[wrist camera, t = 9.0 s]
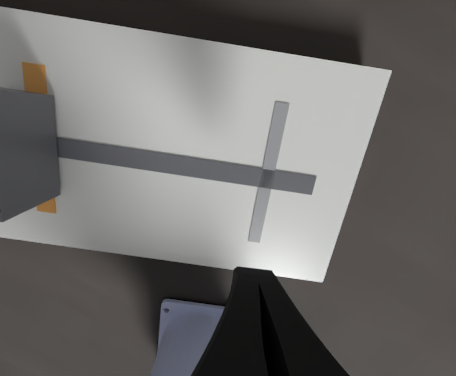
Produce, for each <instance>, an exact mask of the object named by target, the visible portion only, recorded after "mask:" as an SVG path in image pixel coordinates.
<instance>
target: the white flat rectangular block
mask: <svg viewBox="0 0 456 376" xmlns="http://www.w3.org/2000/svg"><path fill="white" fill-rule="evenodd" d="M391 72H392V71H391V70H385V69H379V68H373V67H367V66H361V65H355V64H348V63H342V62H336V61H330V60H324V59H318V58H312V57H306V56H300V55H294V54H287V53H281V52H275V51H269V50H263V49H257V48H251V47H245V46H239V45H233V44H227V43H220V42H214V41H208V40H202V39H196V38H190V37H184V36H178V35H172V34H166V33H160V32H153V31H147V30H141V29H135V28H129V27H123V26H117V25H111V24H105V23H99V22H92V21H86V20H80V19H74V18H68V17H62V16H56V15H50V14H44V13H38V12H32V11H25V10H19V9H13V8H7V7H1V6H0V87H3V88H10V89H16V90H22V91H29V92H35V93H42V94H48V95H54V109H55V123H56V137H57V152H58V166H59V180H60V194H61V195H59V196H57V197H55V198H53V199H51V200H49V201H46V202H44V203H42V204H40V205H38V206H36V207H34V208H32V209H30V210H28V211H25V212H23V213H21V214H19V215H17V216H15V217H13V218H11V219H9V220H7V221H4V222H0V237H3V238H10V239H17V240H24V241H31V242H39V243H46V244H53V245H60V246H67V247H74V248H81V249H88V250H96V251H103V252H110V253H117V254H124V255H131V256H138V257H145V258H152V259H160V260H167V261H174V262H181V263H188V264H195V265H202V266H209V267H217V268H224V269H231V270H234V268H236V267H238V266H239V267H248V268H256V269H264V270H272V272H273V273H274V274H275V276H281V277H288V278H295V279H302V280H309V281H316V282H323V280H324V277H325V274H326V271H327V268H328V265H329V261H330V258H331V255H332V252H333V249H334V246H335V243H336V240H337V237H338V234H339V231H340V228H341V225H342V222H343V219H344V216H345V213H346V209H347V206H348V203H349V200H350V197H351V194H352V191H353V188H354V185H355V182H356V179H357V176H358V173H359V170H360V167H361V164H362V161H363V157H364V154H365V151H366V148H367V145H368V142H369V139H370V136H371V133H372V130H373V127H374V124H375V121H376V118H377V115H378V112H379V108H380V105H381V102H382V99H383V96H384V93H385V90H386V87H387V84H388V81H389V78H390V75H391Z"/></svg>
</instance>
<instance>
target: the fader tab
mask: <svg viewBox="0 0 456 376" xmlns="http://www.w3.org/2000/svg"><path fill="white" fill-rule="evenodd" d="M59 195H61V194H60V180H59V166H58V152H57V137H56V123H55V109H54V95H48V94H42V93H35V92H29V91H22V90H16V89H10V88H3V87H0V222H4V221H7V220H9V219H11V218H13V217H15V216H17V215H19V214H21V213H23V212H25V211H28V210H30V209H32V208H34V207H36V206H38V205H40V204H42V203H44V202H46V201H49V200H51V199H53V198H55V197H57V196H59Z"/></svg>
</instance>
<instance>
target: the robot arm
mask: <svg viewBox="0 0 456 376" xmlns="http://www.w3.org/2000/svg"><path fill="white" fill-rule="evenodd" d="M165 308H167V309H168V310H167V309H165ZM150 376H349V375H348V373H347V372H346V371H345V370H344V369H343V368H342V367H341V365H340V364H339V363H338V362H337V361H336V359H335V358H334V357H333V356H332V355H331V353H330V352H329V351H328V350H327V348H326V347H325V346H324V344H323V343H322V342H321V341H320V339H319V338H318V337H317V336H316V334H315V333H314V332H313V330H312V329H311V328H310V326H309V325H308V323H307V322H306V321H305V319H304V318H303V316H302V315H301V314H300V312H299V311H298V309H297V308H296V307H295V305H294V304H293V302H292V301H291V299H290V298H289V296H288V295H287V293H286V292H285V290H284V288H283V287H282V285H281V284H280V282H279V281H278V279H277V278H276V276H275V274H274V273H273V272H272V270H264V269H256V268H248V267H239V266H238V267H236V268H234V273H233V279H232V286H231V291H230V294H229V297H228V300H227V302H226V305H225V307H224V306H217V305H210V304H202V303H195V302H188V301H180V300H173V299H164V300H163V301H162V304H161V314H160V327H159V339H158V351H157V355H156V358H155V361H154V364H153V367H152V370H151V373H150Z"/></svg>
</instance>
